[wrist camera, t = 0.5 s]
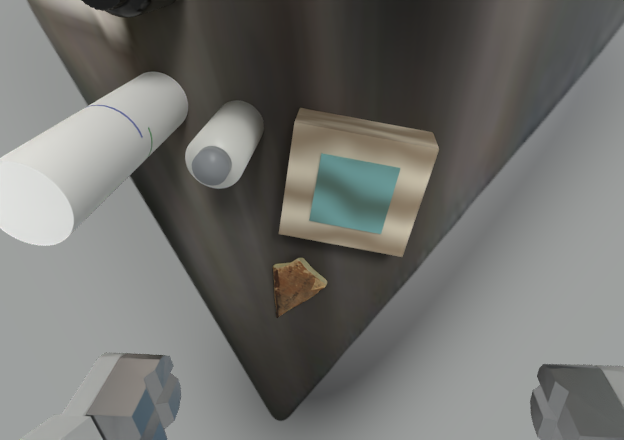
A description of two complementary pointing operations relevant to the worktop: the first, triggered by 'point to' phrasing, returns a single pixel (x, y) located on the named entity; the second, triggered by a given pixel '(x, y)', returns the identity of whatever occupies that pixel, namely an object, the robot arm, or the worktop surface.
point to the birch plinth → (355, 181)
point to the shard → (295, 284)
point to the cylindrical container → (86, 158)
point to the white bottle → (225, 145)
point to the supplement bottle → (128, 6)
